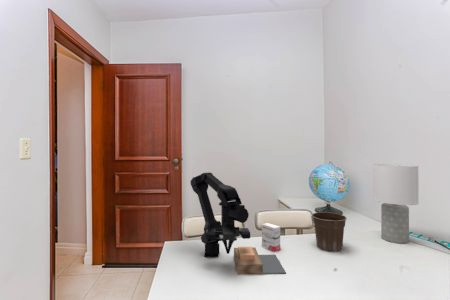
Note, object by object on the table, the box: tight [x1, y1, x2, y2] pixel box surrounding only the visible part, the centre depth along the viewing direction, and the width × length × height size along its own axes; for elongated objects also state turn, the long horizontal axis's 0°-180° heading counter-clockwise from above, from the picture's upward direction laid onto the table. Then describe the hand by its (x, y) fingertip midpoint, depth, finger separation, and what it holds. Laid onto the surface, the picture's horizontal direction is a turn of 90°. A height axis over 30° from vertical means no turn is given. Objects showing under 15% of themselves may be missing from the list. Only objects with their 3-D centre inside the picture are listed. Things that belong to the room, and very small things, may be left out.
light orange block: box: [237, 246, 255, 260], centre depth 105 cm, size 6×9×2 cm, turn 3°
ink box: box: [261, 222, 281, 253], centre depth 122 cm, size 8×5×12 cm, turn 39°
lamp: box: [372, 163, 419, 245], centre depth 135 cm, size 21×21×42 cm
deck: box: [233, 246, 264, 276], centre depth 105 cm, size 10×17×4 cm, turn 3°
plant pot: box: [311, 211, 347, 253], centre depth 124 cm, size 16×16×16 cm
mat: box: [258, 254, 287, 275], centre depth 105 cm, size 10×17×1 cm, turn 3°
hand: (227, 253), depth 104 cm, fingers closed
